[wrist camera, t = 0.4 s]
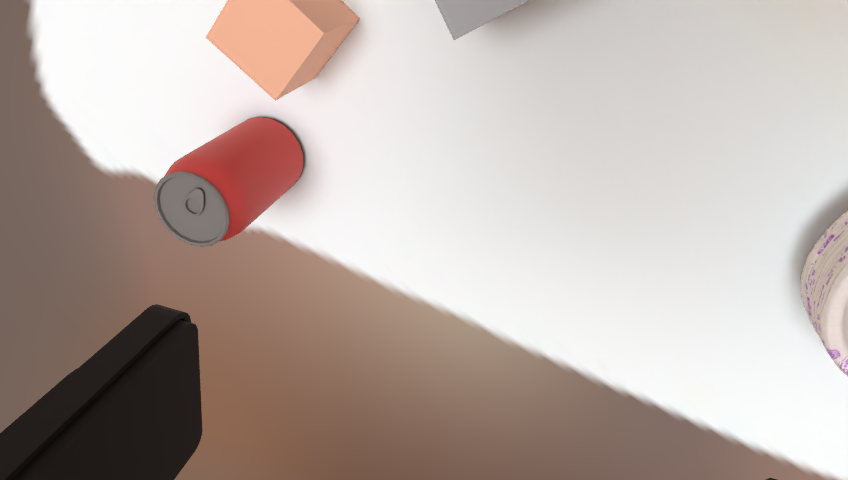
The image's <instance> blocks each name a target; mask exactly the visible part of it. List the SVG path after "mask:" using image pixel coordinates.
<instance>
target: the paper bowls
mask: <svg viewBox="0 0 848 480" xmlns="http://www.w3.org/2000/svg"><path fill="white" fill-rule="evenodd" d="M801 296H802V300H803V303H804V306H805V309H806V312H807V314H808V316H809V319H810V321H811V323H812V325H813V327H814V328H815V330H816V332H817V334H818V335H819V337H820V339H821V341H822V343H823V345H824V346H825V348H826V350H827V352H828V353H829V355H830V356H831V358H832V360H833V361H834V363H835V364H836V365H837V367H838V368H839V369H840V370H841V371H842V372H843V373H844V374H846V375H847V376H848V210H847V211H846V212H845V213H843V214H842V215H841V216H840V217H839V218H837V219H836V220H835V221H834V222H833V223H832V224H831V225H830V226H829V227H828V228H827V229H826V230H825V231H824V233H823V234H822V235H821V236H820V238H819V240H818V241H817V242H816V243H815V245H814V247H813V248H812V250H811V252H810V253H809V255H808V257H807V260H806V263H805V266H804V268H803V272H802V274H801Z"/></svg>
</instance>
